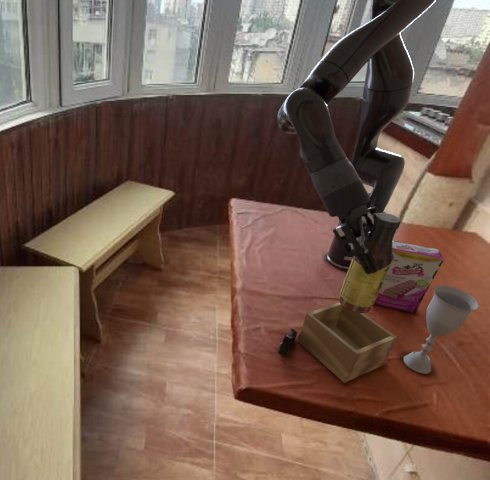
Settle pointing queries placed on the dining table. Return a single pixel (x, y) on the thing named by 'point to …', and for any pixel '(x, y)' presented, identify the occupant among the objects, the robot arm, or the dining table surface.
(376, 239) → the sauce bottle
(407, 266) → the candy bar box
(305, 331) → the caddy
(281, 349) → the lighter
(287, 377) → the dining table surface
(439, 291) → the chalice
